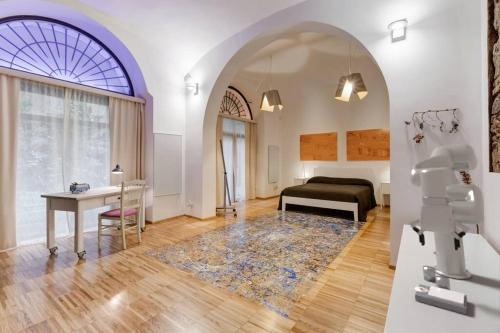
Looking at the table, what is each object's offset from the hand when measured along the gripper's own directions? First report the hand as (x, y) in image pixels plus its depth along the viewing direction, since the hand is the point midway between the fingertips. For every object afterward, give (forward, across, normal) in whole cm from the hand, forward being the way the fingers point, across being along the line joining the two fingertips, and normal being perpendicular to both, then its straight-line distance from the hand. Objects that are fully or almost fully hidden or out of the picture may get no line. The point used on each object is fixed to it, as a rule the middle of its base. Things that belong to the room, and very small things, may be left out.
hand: (439, 247), depth 85 cm
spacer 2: (+17, 0, 0) cm, 17 cm away
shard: (+18, +2, -44) cm, 48 cm away
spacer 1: (+17, +5, -9) cm, 20 cm away
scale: (+16, 0, +8) cm, 18 cm away
